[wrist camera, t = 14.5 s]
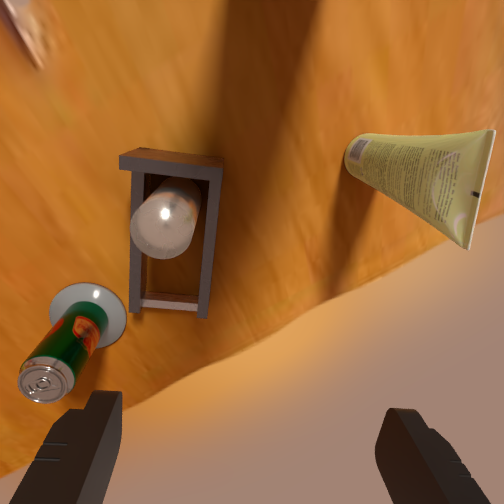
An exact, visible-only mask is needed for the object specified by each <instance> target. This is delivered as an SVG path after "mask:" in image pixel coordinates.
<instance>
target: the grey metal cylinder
mask: <svg viewBox="0 0 504 504" xmlns="http://www.w3.org/2000/svg"><path fill="white" fill-rule="evenodd" d="M201 203H202V195H201V192H200V189H199V188H198V186H197V185H196V184H195V183H194V182H193V181H192V180H190V179H188V178H184V177H176V176H174V177H170V178H168V179H166V180H165V181H164V182H162V184H161V185H160V186H159V187H158V188H157V189H156V190H155V191H154V192H153V193H152V194H151V195H150V196H149V197H148V198H147V200H146V201H145V202H144V203H143V204H142V205H141V206H140V207H139V208H138V209H137V210H136V212H135V213H134V215H133V217H132V219H131V223H130V232H131V237H132V239H133V241H134V243H135V245H136V246H137V247H138V248H139V249H140V250H141V251H142V252H143V253H145V254H146V255H148V256H150V257H153V258H157V259H170V258H174V257H176V256H178V255H180V254H182V253H183V252H184V251H185V250H186V249H187V248H188V246H189V245H190V243H191V240H192V236H193V233H194V229H195V225H196V222H197V218H198V214H199V211H200V207H201Z"/></svg>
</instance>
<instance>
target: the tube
mask: <svg viewBox="0 0 504 504" xmlns="http://www.w3.org/2000/svg"><path fill="white" fill-rule="evenodd" d="M495 135H496V131H495V130H491V129H486V130H480V131H476V132H469V133H461V134H450V135H429V136H400V135H384V134H372V133H366V134H362V135H359V136H357V137H356V138H355V139H353V140H352V141H351V142H350V144H349V145H348V147H347V149H346V152H345V156H344V162H345V166H346V169H347V170H348V172H349V173H350V174H351V175H352V176H354V177H356V178H357V179H359V180H361V181H363V182H365V183H366V184H368V185H370V186H371V187H373V188H375V189H376V190H378V191H380V192H381V193H383V194H385V195H386V196H388V197H389V198H391V199H393V200H394V201H396V202H397V203H399V204H400V205H402V206H404V207H405V208H407V209H408V210H410V211H411V212H413V213H414V214H416V215H417V216H419V217H420V218H422V219H423V220H425V221H426V222H427V223H429V224H430V225H432V226H433V227H435V228H436V229H437V230H439V231H440V232H442V233H443V234H444V235H446V236H447V237H448V238H450V239H451V240H452V241H454V242H455V243H456V244H458V245H459V246H460V247H462V248H464V249H466V250H470V245H471V241H472V236H473V231H474V226H475V222H476V218H477V213H478V209H479V204H480V199H481V194H482V190H483V186H484V182H485V178H486V174H487V169H488V165H489V161H490V157H491V153H492V149H493V144H494V140H495Z"/></svg>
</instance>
